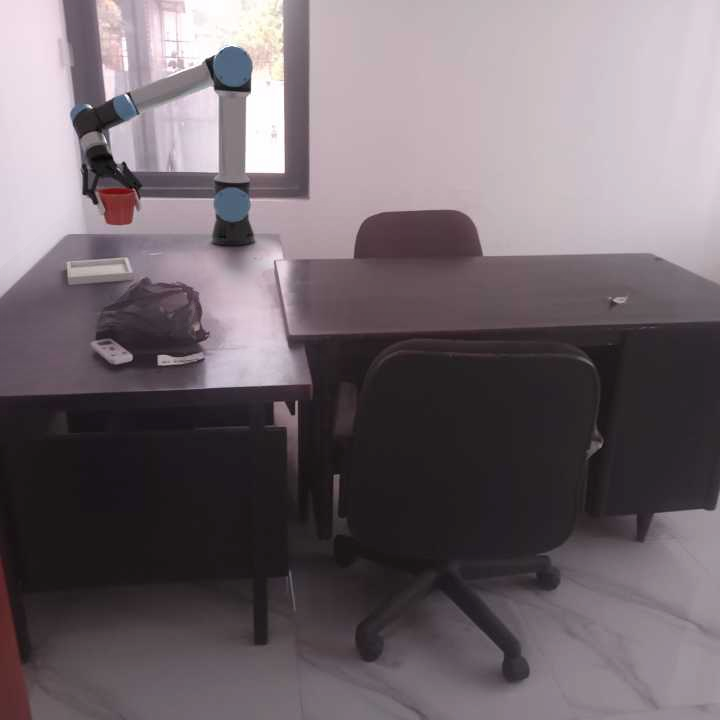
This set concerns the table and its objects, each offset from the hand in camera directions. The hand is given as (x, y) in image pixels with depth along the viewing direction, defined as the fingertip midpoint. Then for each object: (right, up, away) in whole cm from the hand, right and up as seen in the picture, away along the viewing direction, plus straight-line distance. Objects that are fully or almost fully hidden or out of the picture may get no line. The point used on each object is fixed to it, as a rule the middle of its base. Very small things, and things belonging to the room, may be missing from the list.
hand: (121, 210), depth 225 cm
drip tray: (-7, -19, +1) cm, 20 cm away
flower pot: (-2, -3, +4) cm, 5 cm away
